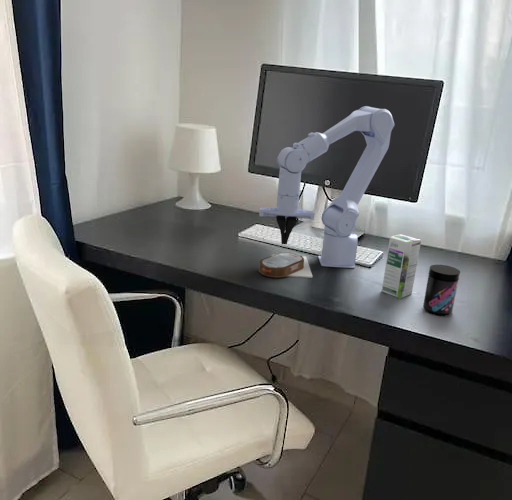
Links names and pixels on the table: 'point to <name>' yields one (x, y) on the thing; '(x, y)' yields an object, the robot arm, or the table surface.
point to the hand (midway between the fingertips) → (284, 243)
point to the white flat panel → (303, 270)
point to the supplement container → (441, 290)
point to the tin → (281, 265)
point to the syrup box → (401, 265)
